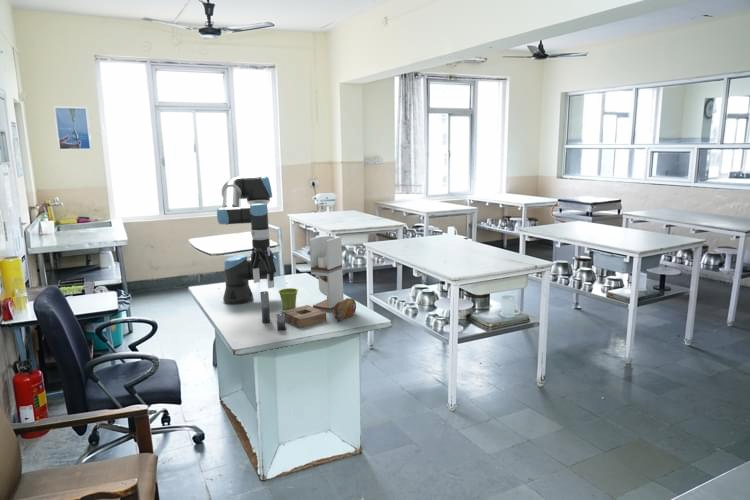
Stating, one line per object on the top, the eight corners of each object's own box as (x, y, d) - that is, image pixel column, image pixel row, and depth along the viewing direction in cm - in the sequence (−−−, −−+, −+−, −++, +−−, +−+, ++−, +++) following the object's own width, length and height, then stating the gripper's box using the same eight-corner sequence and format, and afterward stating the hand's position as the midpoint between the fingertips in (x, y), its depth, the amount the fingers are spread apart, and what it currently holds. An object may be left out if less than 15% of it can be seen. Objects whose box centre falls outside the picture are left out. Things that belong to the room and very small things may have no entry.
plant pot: (294, 310, 257) (294, 293, 255) (276, 310, 259) (275, 293, 257) (301, 305, 266) (300, 288, 264) (283, 304, 268) (282, 287, 266)
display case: (326, 303, 268) (323, 235, 261) (343, 306, 263) (341, 236, 256) (312, 309, 258) (309, 239, 252) (330, 312, 253) (327, 240, 246)
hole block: (282, 319, 244) (281, 311, 244) (307, 312, 253) (307, 304, 252) (300, 328, 232) (299, 319, 231) (326, 320, 241) (326, 312, 240)
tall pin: (260, 321, 242) (258, 292, 239) (268, 320, 244) (266, 290, 241) (264, 323, 239) (262, 293, 236) (271, 321, 241) (269, 292, 239)
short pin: (275, 329, 231) (274, 314, 230) (283, 327, 233) (282, 312, 232) (280, 331, 228) (279, 316, 227) (287, 329, 231) (286, 314, 229)
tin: (338, 322, 238) (337, 305, 236) (332, 321, 240) (331, 304, 238) (356, 313, 250) (356, 296, 249) (351, 312, 252) (350, 295, 250)
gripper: (240, 236, 241) (243, 281, 245) (266, 242, 222) (269, 291, 226) (255, 234, 246) (258, 278, 250) (282, 240, 227) (285, 288, 231)
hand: (263, 285), depth 238 cm, fingers open, 13 cm apart
